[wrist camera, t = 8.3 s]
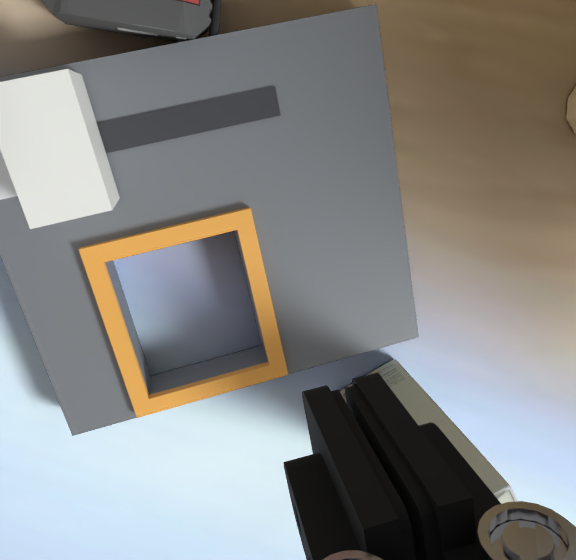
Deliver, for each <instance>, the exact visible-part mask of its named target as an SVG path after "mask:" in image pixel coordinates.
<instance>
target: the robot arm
mask: <svg viewBox="0 0 576 560" xmlns="http://www.w3.org/2000/svg"><path fill="white" fill-rule="evenodd" d="M345 396H346V402H347V403H346V402H345V400H344V398H343V396H342V395H341V393H340V391H339V390H335V391H330V389H329V387H328V386H323V387H319V388H315V389H311V390H307V391H303V392H302V397H303V403H304V408H305V413H306V419H307V424H308V429H309V435H310V440H311V445H312V451H313V454H312V455H309V456H305V457H301V458H298V459H294V460H290V461H287V462H284V469H285V474H286V479H287V483H288V488H289V493H290V497H291V502H292V506H293V510H294V514H295V518H296V522H297V526H298V530H299V534H300V537H301V541H302V545H303V548H304V552H305V555H306V559H307V560H576V527H575V526H574V525H573V524H571V523H570V522H569V521H568V520H567V519H565V518H564V517H562V516H561V515H559V514H558V513H556V512H555V511H553V510H552V509H549V508H546V507H544V506H541V505H539V504H535V503H529V502H523V501H519V502H506V503H502V504H501V503H500V501H499V500H498V499H497V498H496V497H495V495H494V494H493V493H492V492H491V490H490V489H489V488H488V487H487V486H486V484H485V483H484V482H483V481H482V479H481V478H480V477H479V476H478V475H477V473H476V472H475V471H474V470H473V469H472V467H471V466H470V465H469V464H468V462H467V461H466V460H465V459H464V458H463V456H462V455H461V454H460V453H459V451H458V450H457V449H456V448H455V447H454V445H453V444H452V443H451V442H450V441H449V439H448V438H447V437H446V436H445V434H444V433H443V432H442V431H441V430H440V428H439V427H438V426H437V425H436V424H435V423H432V422H430V423H426V424H423V425H418V424H417V423H416V421H415V420H414V419H413V418H412V416H411V415H410V414H409V412H408V411H407V410H406V408H405V407H404V406H403V404H402V403H401V402H400V400H399V399H398V398H397V397H396V395H395V394H394V393H393V391H392V390H391V389H390V387H389V386H388V385H387V383H386V382H385V381H384V379H383V378H382V377H381V376H380V374H379V373H373V374H370V375H366V376H362V377H358V378H354V379H353V380H352V386H350V387H346V388H345Z"/></svg>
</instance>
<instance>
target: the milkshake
mask: <svg viewBox="0 0 576 560" xmlns="http://www.w3.org/2000/svg"><path fill="white" fill-rule="evenodd" d="M566 119H567V121H568V123H569V124H570V126H571V128H572V129H573V131H574V133H575V134H576V86H575V88H574V90H573V91H572V93H571V94H570V96H569V97H568V100H567V114H566Z"/></svg>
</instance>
